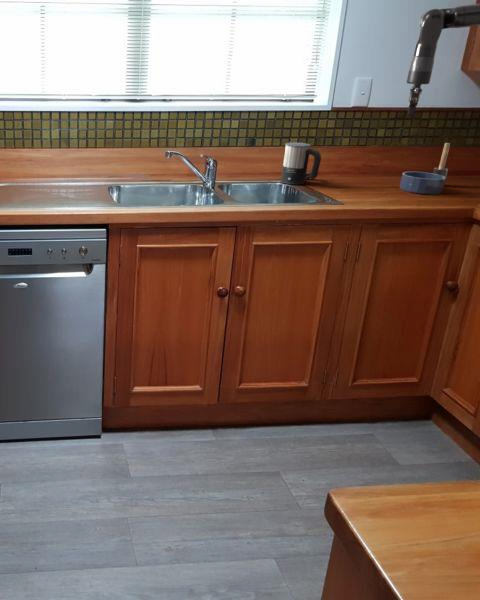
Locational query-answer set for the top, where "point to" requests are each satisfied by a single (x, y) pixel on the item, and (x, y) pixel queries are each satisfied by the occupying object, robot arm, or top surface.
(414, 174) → the bowl
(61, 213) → the top surface
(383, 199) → the top surface
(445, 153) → the stick
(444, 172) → the holder
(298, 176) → the milk frother
